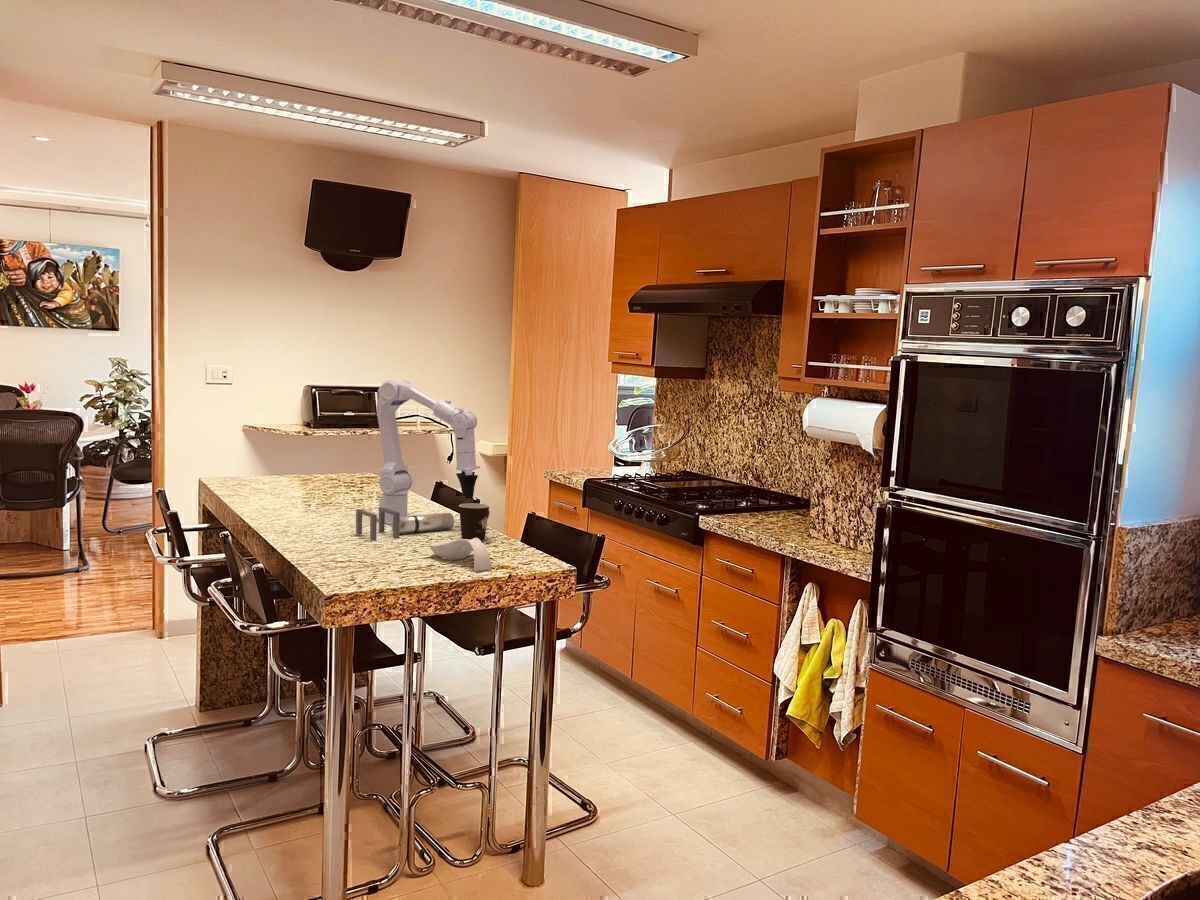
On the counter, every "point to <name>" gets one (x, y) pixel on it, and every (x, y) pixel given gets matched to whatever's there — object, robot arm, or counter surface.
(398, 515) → the collar
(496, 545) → the counter surface
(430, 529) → the tube
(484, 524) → the coffee mug
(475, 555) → the spoon rest
